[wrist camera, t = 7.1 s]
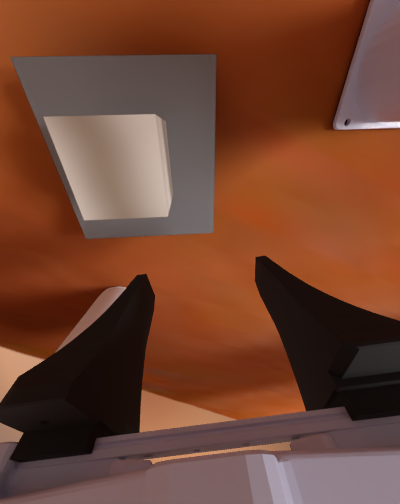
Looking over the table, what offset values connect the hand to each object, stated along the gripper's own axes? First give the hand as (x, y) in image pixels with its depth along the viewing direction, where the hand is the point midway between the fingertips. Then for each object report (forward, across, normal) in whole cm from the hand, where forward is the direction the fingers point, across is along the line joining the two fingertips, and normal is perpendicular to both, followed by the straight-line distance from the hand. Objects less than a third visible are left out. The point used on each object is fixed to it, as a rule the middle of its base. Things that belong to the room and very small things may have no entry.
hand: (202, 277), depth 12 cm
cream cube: (+6, +4, -7) cm, 10 cm away
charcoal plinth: (+9, +4, -6) cm, 12 cm away
